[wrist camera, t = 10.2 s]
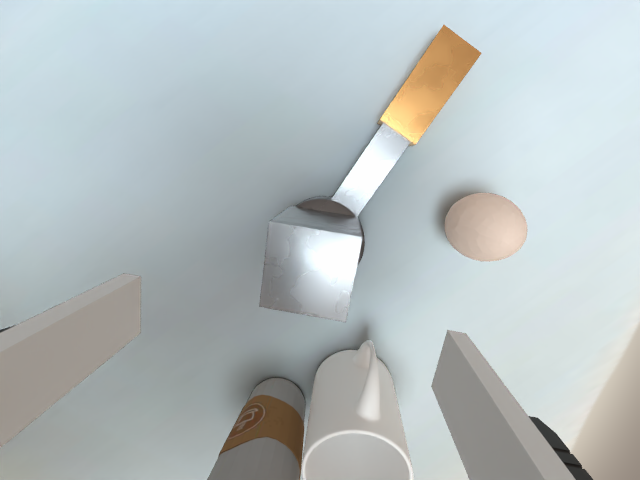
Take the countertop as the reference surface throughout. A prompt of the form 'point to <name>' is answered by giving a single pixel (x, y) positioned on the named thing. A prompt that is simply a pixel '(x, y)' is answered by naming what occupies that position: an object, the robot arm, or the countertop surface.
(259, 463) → the coffee cup
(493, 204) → the egg
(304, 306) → the grey rectangular block
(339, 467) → the mug
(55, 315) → the robot arm
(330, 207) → the ratchet
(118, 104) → the countertop surface
